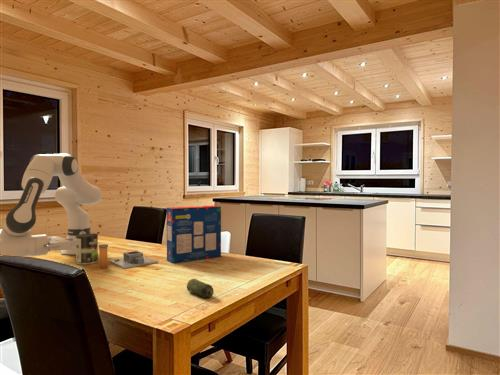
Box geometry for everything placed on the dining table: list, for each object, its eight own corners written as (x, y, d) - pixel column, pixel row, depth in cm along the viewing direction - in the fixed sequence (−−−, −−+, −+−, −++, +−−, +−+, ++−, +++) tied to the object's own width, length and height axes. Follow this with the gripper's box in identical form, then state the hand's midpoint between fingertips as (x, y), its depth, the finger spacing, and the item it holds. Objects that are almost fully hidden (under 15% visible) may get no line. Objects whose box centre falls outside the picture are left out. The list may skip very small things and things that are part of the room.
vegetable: (184, 292, 130) (184, 278, 130) (195, 289, 134) (195, 276, 134) (205, 301, 120) (205, 287, 120) (217, 298, 124) (217, 284, 123)
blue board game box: (214, 254, 197) (214, 205, 197) (221, 256, 190) (220, 206, 190) (166, 260, 181) (166, 207, 181) (172, 263, 175) (172, 208, 174)
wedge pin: (97, 267, 167) (97, 244, 167) (106, 266, 170) (106, 243, 170) (100, 269, 164) (100, 246, 164) (109, 267, 167) (109, 244, 167)
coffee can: (102, 260, 182) (102, 233, 182) (89, 265, 172) (89, 236, 172) (85, 259, 184) (84, 233, 184) (71, 264, 174) (71, 236, 174)
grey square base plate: (108, 262, 178) (108, 252, 177) (141, 257, 190) (141, 248, 190) (123, 268, 164) (123, 258, 164) (157, 262, 177) (157, 253, 177)
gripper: (47, 240, 141) (83, 236, 150) (36, 235, 156) (69, 232, 165) (47, 255, 141) (83, 251, 150) (36, 249, 156) (69, 245, 165)
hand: (76, 241), depth 158 cm, fingers open, 8 cm apart
